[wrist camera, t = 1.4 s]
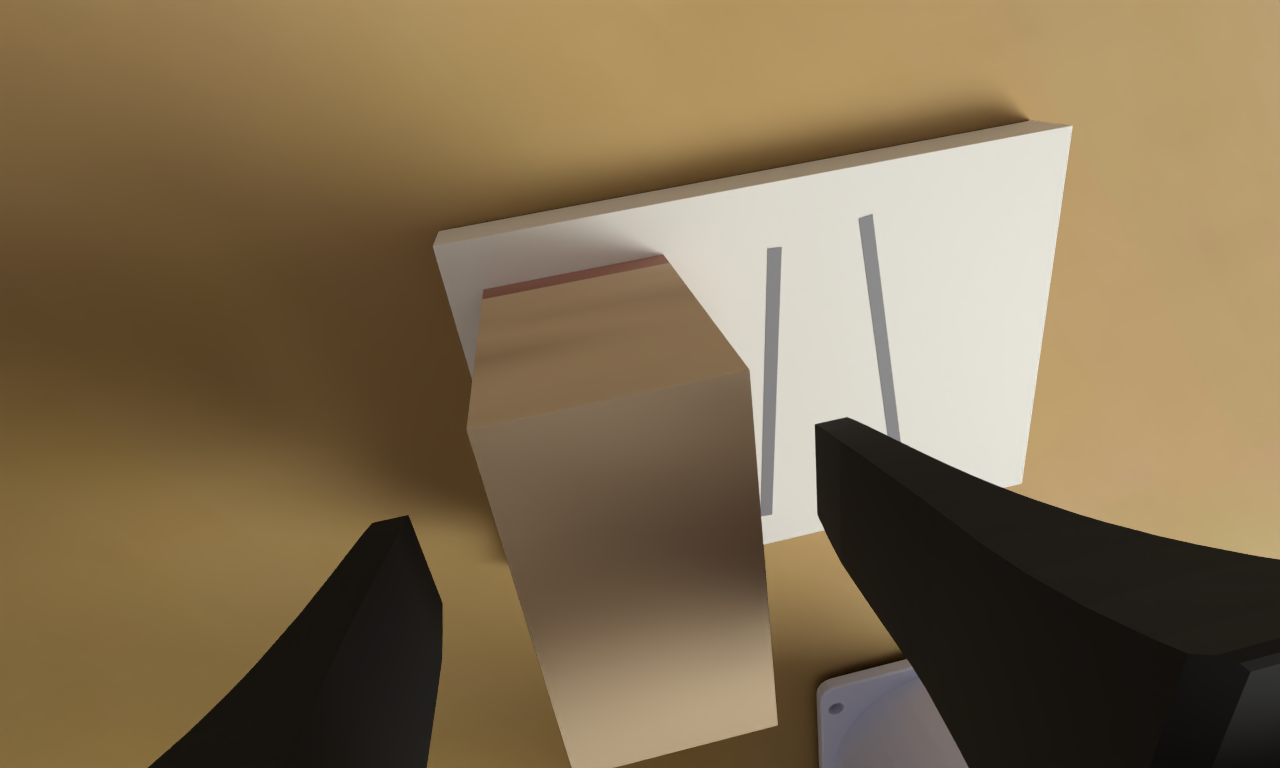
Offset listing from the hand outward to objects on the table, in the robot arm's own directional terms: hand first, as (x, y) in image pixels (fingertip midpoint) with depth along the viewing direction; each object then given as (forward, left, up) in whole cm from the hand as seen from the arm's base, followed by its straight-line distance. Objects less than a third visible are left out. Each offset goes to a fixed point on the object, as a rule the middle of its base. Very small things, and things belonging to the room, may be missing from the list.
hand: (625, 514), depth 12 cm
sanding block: (0, 0, -3) cm, 3 cm away
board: (0, -4, -5) cm, 6 cm away
